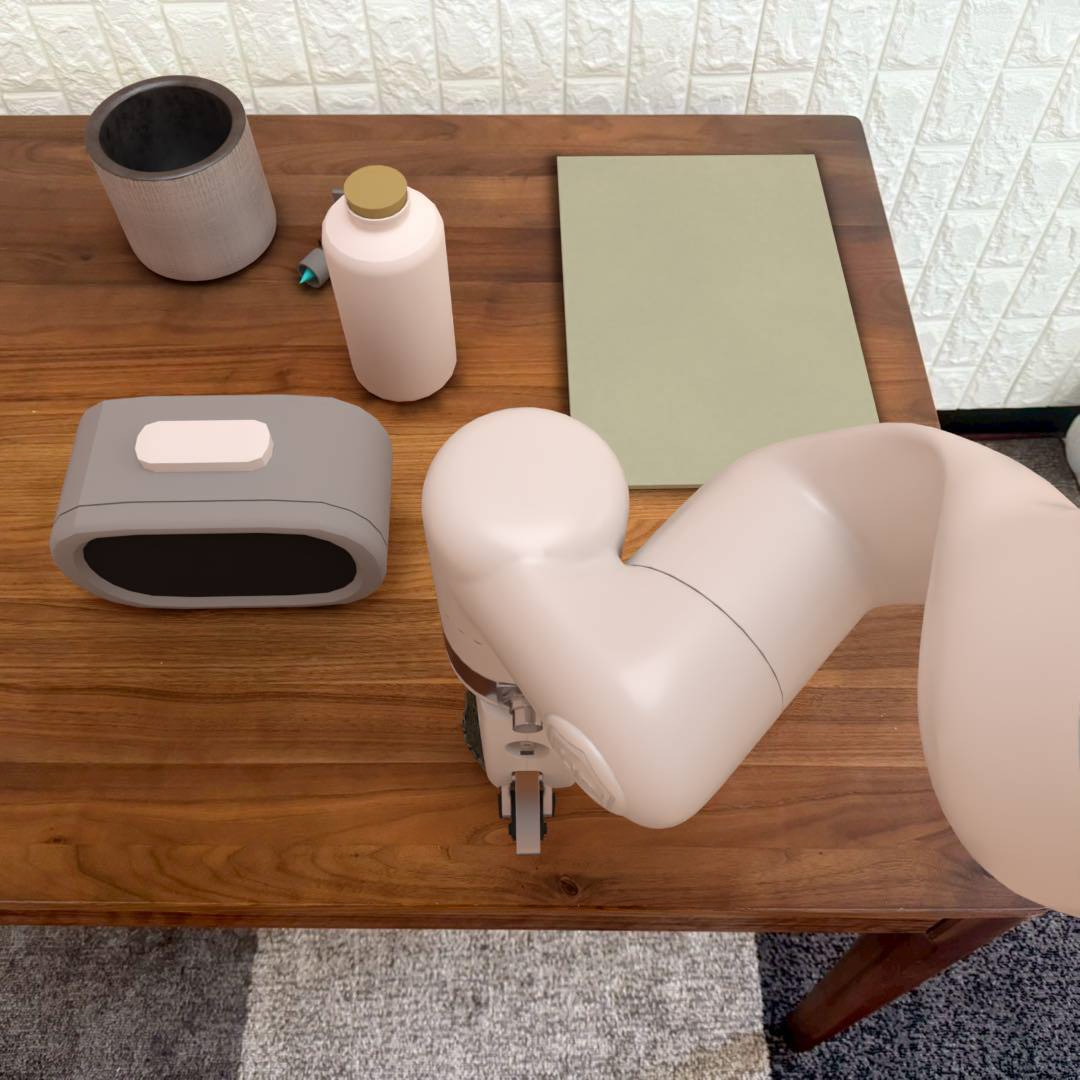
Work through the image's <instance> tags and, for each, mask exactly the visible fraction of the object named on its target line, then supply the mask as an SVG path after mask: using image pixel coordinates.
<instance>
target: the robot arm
mask: <svg viewBox="0 0 1080 1080" xmlns="http://www.w3.org/2000/svg"><path fill="white" fill-rule="evenodd" d="M630 505H631V503H630V489H628V485H627V482H626V478H625V474H624V471H623V469H622V467H621V465H620V463H619V460H618V458H617V457H616V455H615V454H614V452H613V451H612V450H611V448H610V447H609V445H608V444H607V443H606V441H604V440H603V439H602V438H601V437H600V436H599V435H598V434H597V433H596V432H595V431H594V430H592V429H591V428H589V427H588V426H586V425H585V424H583V423H582V422H580V421H578V420H576V419H574V418H572V417H570V415H567V414H565V413H561V412H559V411H556V410H552V409H548V408H542V407H541V408H540V407H534V406H521V407H510V408H509V407H508V408H504V409H500V410H496V411H492V412H489V413H487V414H484V415H482V416H478V417H477V418H474V419H473V420H471V421H469V422H467V423H466V424H464V425H463V426H461V427H460V428H458V429H457V430H456V431H455V432H454V433H453V434H452V435H450V436H449V437H448V438H447V439H446V441H444V443H443V444H442V446H441V447H440V448H439V449H438V451H437V452H436V454H435V455H434V458H433V459H432V461H431V462H430V465H429V466H428V469H427V471H426V476H425V478H424V482H423V486H422V490H421V508H420V509H421V517H422V523H423V531H424V537H425V542H426V548H427V553H428V554H427V555H428V559H429V563H430V570H431V575H432V581H433V585H434V590H435V596H436V600H437V606H438V611H439V615H440V622H441V629H442V634H443V639H444V646H445V649H446V654H447V659H448V661H449V664H450V666H451V668H452V670H453V672H454V673H455V675H456V677H457V678H458V680H459V681H460V682H461V683H462V684H463V686H464V687H465V688H466V690H467V689H469V690H470V691H471V692H472V693H473V694H475V695H476V701H477V710H478V718H479V726H480V734H481V741H482V748H483V755H484V761H485V767H486V772H487V773H486V772H485V773H486V776H487V779H488V781H489V782H490V783H491V784H492V785H493V786H494V787H496V788H497V789H500V787H501V789H500V790H501V791H500V792H499V793H497V809H498V817H499V819H501V820H510V823H508V824H507V826H508V827H507V832H508V833H507V834H508V836H510V838H511V840H512V842H515V843H516V844H515V845H516V857H528V856H529V857H530V856H531V857H533V856H541V842H543V841H544V838H545V835H548V822H545V819H552V818H554V817H555V813H556V812H555V811H556V802H557V799H556V798H557V796H556V792H555V791H554V790H553V789H563V788H569V787H572V786H573V785H574V784H575V783H576V784H577V786H579V787H580V789H581V790H582V791H583V792H584V793H585V794H586V795H587V796H588V797H589V798H591V799H592V800H593V801H594V802H595V803H597V805H598V806H601V807H602V808H603V809H605V810H606V811H608V812H609V813H611V814H613V815H615V816H616V815H617V816H620V817H621V816H622V817H623V818H625V819H627V820H628V821H630V822H632V823H634V824H636V825H639V826H640V827H644V828H649V829H657V830H658V829H659V830H660V829H662V830H663V829H669V828H673V827H676V826H678V825H681V824H683V823H684V822H686V821H688V820H690V819H691V818H692V817H694V816H695V815H696V814H697V813H698V812H699V811H700V810H701V809H703V807H705V805H706V804H707V803H709V801H710V800H711V799H712V798H713V797H714V796H715V794H717V793H718V791H719V790H720V789H721V788H722V787H723V786H724V784H725V783H726V782H727V781H728V780H729V778H730V777H731V776H732V775H733V774H734V772H735V771H736V770H737V769H738V767H739V766H740V765H741V764H742V763H743V761H744V760H745V759H746V757H747V756H748V755H749V754H750V753H751V752H752V751H753V749H754V748H755V747H756V745H757V744H758V743H759V742H760V741H761V739H762V738H763V737H764V736H765V734H766V733H767V732H768V731H769V730H770V729H771V728H772V726H773V725H774V724H775V722H776V721H777V720H778V719H779V717H780V716H781V714H782V713H783V712H784V711H785V710H786V709H787V707H788V706H789V705H791V702H793V700H794V699H795V698H796V696H798V694H799V693H800V692H801V691H802V689H803V688H804V687H805V686H806V684H807V683H808V682H809V681H810V680H811V678H812V677H813V676H814V675H815V674H816V672H818V670H819V669H820V668H821V666H822V665H823V664H824V663H825V662H826V661H827V659H828V658H829V657H830V656H831V654H832V653H833V652H834V651H835V650H836V649H837V647H838V646H839V645H840V644H841V643H842V642H843V641H844V640H845V639H846V637H848V635H849V634H850V632H851V631H852V630H853V629H854V628H855V627H856V626H857V624H858V623H859V622H860V621H861V620H862V619H863V617H864V616H865V614H867V613H868V612H869V611H871V610H874V609H876V608H881V607H886V606H895V605H897V606H898V605H922V606H923V605H924V608H923V609H924V610H923V618H922V625H921V632H920V641H919V652H918V653H919V654H918V669H917V670H918V671H917V682H916V683H917V684H916V703H917V704H916V705H917V719H918V720H917V721H918V722H917V723H918V728H919V735H920V742H921V747H922V748H921V749H922V753H923V757H924V762H925V765H926V768H927V771H928V775H929V780H930V783H931V787H932V790H933V792H934V794H935V797H936V799H937V802H938V804H939V806H940V808H941V812H942V814H943V815H944V817H945V819H946V821H947V822H948V823H949V825H950V827H951V829H952V831H953V832H954V834H955V836H956V837H957V839H958V840H959V842H960V844H961V845H962V847H963V848H964V849H965V850H966V851H967V853H968V854H969V855H970V857H971V858H972V859H973V860H974V861H975V862H976V863H977V864H978V865H980V867H981V868H983V869H984V871H986V872H987V873H988V874H989V875H990V876H992V877H993V878H994V879H995V880H997V881H998V882H999V883H1001V884H1002V885H1003V886H1004V887H1006V888H1007V889H1009V890H1010V891H1011V892H1013V893H1014V894H1015V895H1018V896H1020V897H1022V898H1025V899H1027V900H1029V901H1031V902H1034V903H1035V904H1038V905H1040V906H1043V907H1046V908H1047V909H1050V910H1053V911H1054V912H1058V913H1061V914H1064V915H1068V916H1071V917H1075V918H1078V919H1080V507H1078V506H1076V504H1074V503H1073V502H1072V501H1071V500H1070V499H1069V498H1067V496H1065V494H1063V493H1062V492H1061V491H1060V490H1058V488H1056V487H1055V486H1054V485H1053V484H1052V483H1051V482H1049V481H1048V480H1047V479H1045V478H1044V477H1042V476H1041V475H1039V474H1038V473H1037V472H1035V471H1033V470H1032V469H1030V468H1029V467H1027V466H1026V465H1023V464H1022V463H1020V462H1018V461H1017V460H1016V459H1013V458H1012V457H1009V456H1008V455H1006V454H1003V453H1001V452H999V451H996V450H994V449H992V448H990V447H989V446H987V445H983V444H981V443H978V442H976V441H973V440H971V439H968V438H966V437H963V436H960V435H957V434H955V433H952V432H948V431H946V430H943V429H939V428H936V427H933V426H929V425H923V424H919V423H913V422H879V423H876V424H867V425H861V426H855V427H849V428H843V429H838V430H833V431H827V432H822V433H817V434H811V435H806V436H801V437H797V438H792V439H788V440H784V441H780V442H777V443H773V444H770V445H767V446H764V447H762V448H759V449H756V450H754V451H752V452H749V453H747V454H745V455H743V456H741V457H739V458H738V459H736V460H734V461H733V462H731V463H730V464H728V465H727V466H726V467H724V468H723V469H721V470H720V471H719V472H717V473H716V474H715V475H714V476H712V477H711V478H710V479H709V480H708V481H707V482H706V483H705V484H703V485H702V486H701V487H700V488H697V490H696V491H695V492H694V493H693V494H691V496H689V497H688V498H687V499H686V500H685V501H684V502H683V503H682V504H681V505H679V507H678V508H676V509H675V511H674V512H673V513H672V514H671V515H670V516H669V517H668V518H667V519H666V520H665V522H663V523H662V524H661V525H660V527H658V529H656V531H654V533H653V534H652V535H651V536H650V537H649V538H648V539H647V540H646V541H645V542H644V543H643V544H642V545H641V546H640V547H639V548H638V549H636V551H635V552H634V553H633V554H632V555H631V556H630V557H629V558H628V559H627V560H626V561H625V562H623V561H622V558H623V552H624V547H625V542H626V537H627V531H628V526H629V520H630V509H631V507H630ZM514 783H515V789H512V788H511V784H514ZM539 783H542V787H541V789H540V788H539Z"/></svg>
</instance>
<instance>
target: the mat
mask: <svg viewBox="0 0 1080 1080" xmlns="http://www.w3.org/2000/svg"><path fill="white" fill-rule="evenodd" d="M556 170H557V171H556V173H557V192H558V210H559V229H560V232H559V233H560V249H561V250H560V251H561V268H562V269H561V270H562V285H563V286H562V289H563V308H564V326H565V327H564V328H565V345H566V346H565V347H566V348H565V349H566V368H567V385H568V403H569V404H568V406H569V416H570V417H572V418H574V419H576V420H578V421H580V422H582V423H583V424H585V425H586V426H588V427H589V428H591V429H592V430H594V431H595V432H596V433H597V434H598V435H599V436H600V437H601V438H602V439H603V440H604V441H606V443H607V444H608V445H609V447H610V448H611V450H612V451H613V452H614V454H615V455H616V457H617V458H618V460H619V463H620V465H621V467H622V469H623V471H624V474H625V478H626V482H627V485H628V489H629V490H664V489H666V490H667V489H670V490H671V489H673V490H674V489H699V488H700V487H701V486H702V485H703V484H705V483H706V482H707V481H708V480H709V479H710V478H711V477H712V476H714V475H715V474H716V473H717V472H719V471H720V470H721V469H723V468H724V467H726V466H727V465H728V464H730V463H731V462H733V461H734V460H736V459H738V458H739V457H741V456H743V455H745V454H747V453H749V452H752V451H754V450H756V449H759V448H762V447H764V446H767V445H770V444H773V443H777V442H780V441H784V440H788V439H792V438H797V437H801V436H806V435H811V434H817V433H822V432H827V431H833V430H838V429H843V428H849V427H855V426H861V425H867V424H876V423H880V420H879V415H878V411H877V407H876V402H875V398H874V395H873V390H872V386H871V383H870V378H869V373H868V370H867V365H866V361H865V356H864V353H863V348H862V344H861V339H860V337H859V333H858V328H857V325H856V324H857V323H856V319H855V316H854V312H853V308H852V303H851V300H850V299H851V298H850V296H849V295H850V294H849V292H848V287H847V283H846V279H845V276H844V270H843V267H842V263H841V258H840V254H839V250H838V246H837V242H836V238H835V234H834V230H833V226H832V220H831V217H830V213H829V209H828V204H827V200H826V196H825V192H824V187H823V184H822V179H821V175H820V172H819V168H818V163H817V160H816V156H815V154H707V155H706V154H704V155H703V154H698V155H697V154H696V155H695V154H694V155H690V154H689V155H686V154H685V155H683V154H682V155H681V154H680V155H570V156H569V155H568V156H567V155H566V156H565V155H564V156H563V155H562V156H561V155H559V156H558V155H557V156H556Z"/></svg>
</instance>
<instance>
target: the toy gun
mask: <svg viewBox="0 0 1080 1080" xmlns="http://www.w3.org/2000/svg"><path fill="white" fill-rule="evenodd" d="M331 194H332V198H333V204H334V203H335V202H336V201H337V200H338V199H339V198H340V197H341V196H343V195H344V189H339V188H333V189H332V191H331ZM317 243H318V246H319V247H315V248H313V249H312V250H311V251H310V252H309V253H308V254H307V255H306V256H305V257H304V258H303V259H302V260H301V261H299V263H297V265H296V270H297V273H298V275H299V276H300V278H301V280H300V282H299V284H302V283H306V284H307V285H309V286H310V287H312V288H315V289H319V288H320V287H321V286H322V285H324V283H325V282H326V281H327V280H329V279H330V274H329V270H328V266H327V262H326V258H325V254H324V250H323V246H322V235H321V236H320V237H319V238H318V239H317Z"/></svg>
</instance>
